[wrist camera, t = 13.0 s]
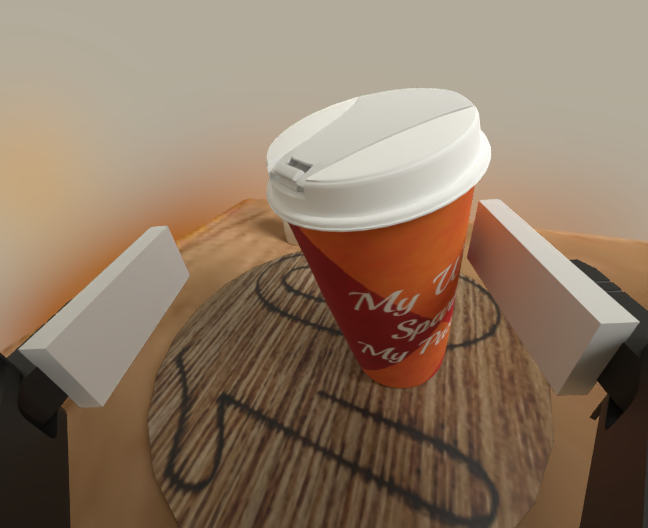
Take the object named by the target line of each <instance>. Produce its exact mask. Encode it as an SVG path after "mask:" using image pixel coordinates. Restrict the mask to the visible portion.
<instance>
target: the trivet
mask: <svg viewBox="0 0 648 528" xmlns="http://www.w3.org/2000/svg"><path fill="white" fill-rule="evenodd" d="M148 429H149V438H150V447H151V456H152V466H153V474H154V476H155V478H156V480H157V482H158V484H159V486H160V488H161V490H162V492H163V494H164V496H165V498H166V500H167V502H168V504H169V506H170V508H171V510H172V512H173V514H174V516H175V518H176V520H177V522H178V524H179V526H180V528H515V527H516V525H517V524H518V523H519V522H520V521H521V519H522V518H523V517H524V516H525V515H526V513H527V512H528V511H529V510H530V509H531V507H532V506H533V505H534V504H535V501H536V498H537V494H538V491H539V488H540V485H541V481H542V478H543V475H544V471H545V468H546V465H547V462H548V458H549V455H550V452H551V448H552V445H553V442H554V436H553V423H552V409H551V396H550V384H549V383H548V381H547V380H546V378H545V377H544V375H543V374H542V372H541V371H540V369H539V368H538V366H537V364H536V363H535V361H534V360H533V358H532V357H531V355H530V354H529V352H528V351H527V349H526V348H525V346H524V344H523V343H522V341H521V340H520V338H519V337H518V335H517V334H516V332H515V331H514V329H513V328H512V326H511V324H510V323H509V321H508V320H507V318H506V317H505V315H504V314H503V312H502V311H501V309H500V308H499V306H498V304H497V303H496V301H495V300H494V298H493V297H492V295H491V294H490V293H489V292H488V291H487V290H485V289H484V288H483V287H482V286H481V285H479V284H478V283H477V282H476V281H474V280H473V279H471V278H470V277H468V276H466V275H464V274H462V273H460V274H459V280H458V286H457V292H456V297H455V303H454V309H453V314H452V320H451V326H450V331H449V336H448V342H447V346H446V351H445V355H444V358H443V361H442V364H441V366H440V368H439V369H438V371H437V372H436V374H435V375H434V376H433V377H432V378H430V379H429V380H428V381H426V382H425V383H423V384H421V385H418V386H415V387H411V388H392V387H388V386H384V385H382V384H380V383H378V382H376V381H374V380H373V379H372V378H370V377H369V376H368V375H367V374H366V373H365V372H364V370H363V369H362V368H361V366H360V365H359V363H358V361H357V360H356V358H355V356H354V354H353V352H352V350H351V348H350V347H349V345H348V343H347V341H346V339H345V337H344V335H343V333H342V331H341V329H340V327H339V325H338V324H337V322H336V320H335V318H334V316H333V314H332V313H331V311H330V309H329V307H328V305H327V303H326V301H325V299H324V297H323V295H322V293H321V290H320V288H319V286H318V284H317V282H316V280H315V277H314V275H313V273H312V271H311V269H310V267H309V265H308V262H307V260H306V258H305V256H304V254H303V252H302V251H299V252H295V253H291V254H287V255H284V256H281V257H279V258H276V259H274V260H271V261H269V262H266V263H264V264H261V265H259V266H257V267H254V268H252V269H251V270H249V271H247V272H246V273H244V274H242V275H241V276H239V277H237V278H236V279H234V280H232V281H231V282H229V283H227V284H226V285H225V286H223V287H222V288H221V289H220V290H219V291H218V292H216V293H215V294H214V295H213V296H212V297H210V298H209V299H208V300H207V301H206V302H205V303H203V304H202V305H201V306H200V307H199V308H198V309H197V310H196V312H195V313H194V314H193V315H192V317H191V318H190V319H189V320H188V322H187V323H186V324H185V325H184V327H183V328H182V329H181V330H180V332H179V333H178V334H177V335H176V336H175V338H174V340H173V342H172V344H171V346H170V348H169V351H168V353H167V355H166V357H165V359H164V361H163V363H162V365H161V367H160V369H159V371H158V373H157V376H156V381H155V386H154V391H153V396H152V401H151V406H150V411H149V416H148Z"/></svg>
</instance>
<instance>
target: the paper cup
mask: <svg viewBox="0 0 648 528" xmlns="http://www.w3.org/2000/svg"><path fill="white" fill-rule="evenodd" d="M490 160H491V147H490V144H489V142H488V140H487V138H486V135H485V134H484V133H483V132H482V131H481V130H480V121H479V113H478V111H477V109H476V107H475V106H474V104H472V103H471V102H470V101H469V100H468V99H467V98H465V97H464V96H462V95H460V94H459V93H455V92H453V91H449V90H443V89H433V88H410V89H398V90H390V91H385V92H380V93H374V94H369V95H364V96H360V97H356V98H353V99H349V100H346V101H343V102H340V103H337V104H335V105H332V106H329V107H327V108H324V109H322V110H320V111H317V112H315V113H313V114H311V115H309V116H307V117H305V118H304V119H302V120H300V121H298V122H297V123H295V124H293V125H292V126H290V127H289V128H288V129H286V130H285V131H284V132H282V133H281V134H280V135H279V136H278V137H277V138H276V139H275V141H274V142H273V143H272V144H271V146H270V148H269V150H268V152H267V159H266V166H267V169H268V174H269V180H268V184H267V194H266V195H267V200H268V203H269V205H270V207H271V209H272V210H273V212H274V213H276V214H277V215H278V216H279V217H280V218H281V219H283V220H285V221H287V222H288V224H289V226H290V228H291V230H292V232H293V234H294V236H295V238H296V240H297V242H298V244H299V246H300V248H301V250H302V252H303V254H304V256H305V258H306V260H307V262H308V265H309V267H310V269H311V271H312V273H313V275H314V277H315V280H316V282H317V284H318V286H319V288H320V290H321V293H322V295H323V297H324V299H325V301H326V303H327V305H328V307H329V309H330V311H331V313H332V314H333V316H334V318H335V320H336V322H337V324H338V325H339V327H340V329H341V331H342V333H343V335H344V337H345V339H346V341H347V343H348V345H349V347H350V348H351V350H352V352H353V354H354V356H355V358H356V360H357V361H358V363H359V365H360V366H361V368H362V369H363V370H364V372H365V373H366V374H367V375H368V376H369V377H370V378H372V379H373V380H374V381H376V382H378V383H380V384H382V385H384V386H388V387H392V388H411V387H415V386H418V385H421V384H423V383H425V382H426V381H428V380H429V379H430V378H432V377H433V376H434V375H435V374H436V372H437V371H438V369H439V368H440V366H441V364H442V361H443V358H444V355H445V351H446V346H447V342H448V336H449V331H450V326H451V320H452V314H453V309H454V303H455V297H456V292H457V286H458V280H459V274H460V268H461V262H462V257H463V251H464V245H465V239H466V233H467V227H468V221H469V216H470V209H471V203H472V198H473V192H474V186H475V184H476V183H477V182H479V180H480V179H481V178H482V176H483V175H484V173H485V172H486V170H487V168H488V166H489V163H490Z"/></svg>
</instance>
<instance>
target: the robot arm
mask: <svg viewBox="0 0 648 528" xmlns="http://www.w3.org/2000/svg"><path fill="white" fill-rule="evenodd" d="M467 258H468V260H469V261H470V263H471V265H472V266H473V268H474V269H475V271H476V272H477V274H478V275H479V277H480V278H481V280H482V281H483V283H484V285H485V286H486V288H487V289H488V291H489V292H490V294H491V295H492V297H493V298H494V300H495V301H496V303H497V304H498V306H499V308H500V309H501V311H502V312H503V314H504V315H505V317H506V318H507V320H508V321H509V323H510V324H511V326H512V328H513V329H514V331H515V332H516V334H517V335H518V337H519V338H520V340H521V341H522V343H523V344H524V346H525V348H526V349H527V351H528V352H529V354H530V355H531V357H532V358H533V360H534V361H535V363H536V364H537V366H538V368H539V369H540V371H541V372H542V374H543V375H544V377H545V378H546V380H547V381H548V383H549V384H550V386H551V388H552V389H553V391H554V392H555V394H556V395H557V396H561V395H588V393H589V392H590V390H591V389H592V388H593V386H594V385H595V383H596V382H597V381H598V382H599V383H600V385H601V386H602V387H603V388H604V390H605V391H606V392H607V393H608V394H607V395H606V396H605V398H604V399H603V400H602V402H601V403H600V404H599V405H598V407H597V408H596V409H595V410H594V412H593V413H592V415H591V416H590V418H592V419H594V420H596V419H597V417H598V416H599V415H600V417H599V422H598V428H597V433H596V439H595V445H594V450H593V456H592V461H591V467H590V473H589V478H588V484H587V489H586V495H585V501H584V506H583V512H582V518H581V523H580V528H648V311H647V310H646V309H645V308H644V307H642V306H641V305H640V304H639V303H637V302H636V301H635V300H634V299H633V298H631V297H630V296H629V295H628V294H626V293H625V292H622V291H621V289H620V288H619V287H618V286H617V285H615V284H614V283H613V282H610V280H609V279H608V278H607V277H606V276H604V275H603V274H602V273H601V272H599V271H598V270H597V269H596V268H594V267H592V266H590V265H587V264H585V263H583V262H581V261H579V260H577V259H576V260H568V259H567V258H566V257H565V256H564V255H563V254H562V253H560V252H559V251H558V250H557V249H556V248H555V247H553V246H552V245H551V244H550V243H549V242H548V241H547V240H545V239H544V238H543V237H542V236H541V235H540V234H539V233H537V232H536V231H535V230H534V229H533V228H532V227H531V226H529V225H528V224H527V223H526V222H525V221H524V220H523V219H521V218H520V217H519V216H518V215H517V214H516V213H514V212H513V211H512V210H511V209H510V208H509V207H508V206H507V205H505V204H504V203H503V202H502V201H501V200H500V199H491V200H479V203H478V207H477V212H476V217H475V222H474V227H473V231H472V236H471V241H470V246H469V251H468V255H467ZM189 277H190V274H189V272H188V270H187V268H186V265H185V263H184V261H183V259H182V257H181V255H180V252H179V250H178V248H177V246H176V244H175V241H174V239H173V237H172V235H171V233H170V231H169V228H168V226H159V227H151V228H149V229H148V230H147V231H146V232H145V233H144V234H143V235H142V236H141V237H140V238H139V239H137V240H136V241H135V242H134V243H133V244H132V245H131V246H130V247H129V248H128V249H127V250H126V251H125V252H123V254H121V255H120V256H119V257H118V258H117V259H116V260H115V261H114V262H113V263H111V265H109V266H108V267H107V268H106V269H105V270H104V271H103V272H102V273H101V274H100V275H98V276H97V278H95V279H94V280H93V281H92V282H91V283H90V284H89V285H88V286H86V287H85V288H84V289H83V290H82V291H81V292H80V293H79V294H78V295H77V296H76V297H75V298H73V299H72V300H70V301H69V302H67V303H66V304H65V305H64V306H63V307H62V308H61V309H60V310H59V311H58V312H57V314H54V315H53V316H52V317H51V318H50V319H49V320H48V321H47V323H46V324H43V325H42V326H41V327H40V328H39V329H38V330H37V331H36V332H35V333H34V334H32V335H31V336H30V337H29V338H28V339H27V340H26V341H25V342H24V343H23V344H22V345H20V346H19V347H18V348H17V349H16V350H15V351H14V352H13V353H12V354H11V355H10V356H8V357H7V358H6V357H4V356H3V355H2V354H1V353H0V528H70V498H69V466H68V435H67V414H66V411H65V409H63V408H62V407H61V405H62V404H63V402H64V401H65V400H66V399H67V397H69V398H70V399H71V400H72V401H73V402H74V403H75V404H76V405H78V406H79V407H80V408H83V407H103V406H104V404H105V403H106V401H107V400H108V398H109V397H110V395H111V394H112V392H113V391H114V389H115V388H116V386H117V385H118V383H119V382H120V380H121V379H122V377H123V376H124V374H125V373H126V371H127V370H128V368H129V367H130V365H131V364H132V362H133V361H134V359H135V358H136V356H137V355H138V353H139V352H140V350H141V349H142V347H143V346H144V344H145V343H146V341H147V340H148V338H149V337H150V335H151V334H152V332H153V331H154V329H155V328H156V326H157V325H158V323H159V322H160V320H161V319H162V317H163V316H164V314H165V313H166V311H167V310H168V308H169V307H170V305H171V304H172V302H173V301H174V299H175V298H176V296H177V295H178V293H179V292H180V290H181V289H182V287H183V286H184V284H185V283H186V281H187V280H188V278H189Z"/></svg>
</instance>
